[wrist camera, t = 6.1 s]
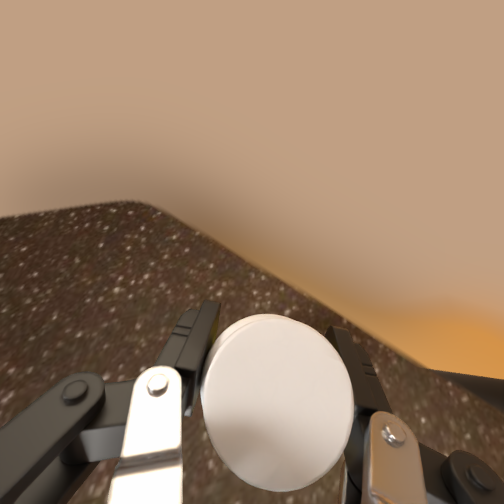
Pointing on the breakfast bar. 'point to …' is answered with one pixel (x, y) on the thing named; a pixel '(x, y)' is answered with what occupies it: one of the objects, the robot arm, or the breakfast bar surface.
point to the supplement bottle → (276, 402)
